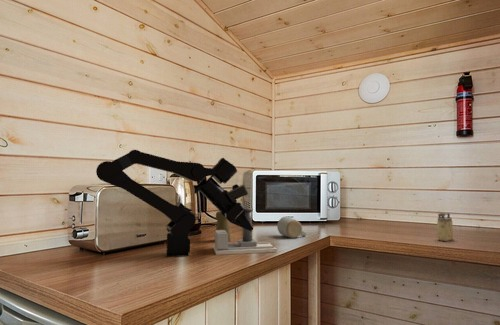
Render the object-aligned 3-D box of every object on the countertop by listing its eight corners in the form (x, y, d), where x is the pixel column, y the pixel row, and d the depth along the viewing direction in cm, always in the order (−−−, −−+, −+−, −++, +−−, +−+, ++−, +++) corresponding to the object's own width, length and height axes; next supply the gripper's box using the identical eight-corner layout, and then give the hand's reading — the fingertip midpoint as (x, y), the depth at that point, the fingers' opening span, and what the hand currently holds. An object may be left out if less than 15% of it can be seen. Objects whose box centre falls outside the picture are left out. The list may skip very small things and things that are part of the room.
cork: (228, 242, 119) (228, 211, 120) (212, 242, 121) (212, 211, 121) (232, 239, 125) (232, 210, 126) (217, 239, 127) (217, 210, 127)
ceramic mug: (286, 239, 126) (287, 218, 126) (276, 235, 133) (277, 216, 134) (310, 238, 130) (310, 218, 130) (299, 234, 137) (299, 215, 138)
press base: (216, 254, 101) (216, 234, 101) (213, 247, 110) (213, 229, 111) (276, 252, 104) (276, 232, 105) (268, 245, 114) (268, 228, 114)
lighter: (445, 238, 128) (444, 212, 128) (455, 239, 125) (455, 212, 125) (435, 240, 124) (435, 213, 124) (446, 241, 121) (445, 214, 121)
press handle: (241, 247, 104) (241, 209, 105) (238, 244, 110) (238, 208, 110) (256, 247, 105) (256, 209, 106) (253, 243, 111) (252, 207, 111)
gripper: (237, 176, 99) (273, 212, 100) (229, 176, 117) (260, 207, 118) (211, 203, 97) (248, 240, 98) (206, 199, 115) (238, 230, 117)
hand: (249, 227), depth 108 cm, fingers open, 9 cm apart
